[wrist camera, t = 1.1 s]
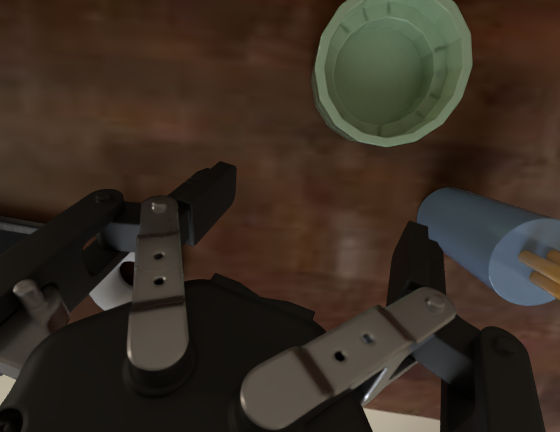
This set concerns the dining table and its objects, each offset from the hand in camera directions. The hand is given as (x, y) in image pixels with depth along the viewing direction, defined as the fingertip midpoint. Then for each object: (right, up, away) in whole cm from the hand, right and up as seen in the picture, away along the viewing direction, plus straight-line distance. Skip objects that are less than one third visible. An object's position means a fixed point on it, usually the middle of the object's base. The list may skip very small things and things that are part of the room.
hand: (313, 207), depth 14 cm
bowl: (+7, +12, +15) cm, 20 cm away
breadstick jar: (+15, 0, +17) cm, 23 cm away
